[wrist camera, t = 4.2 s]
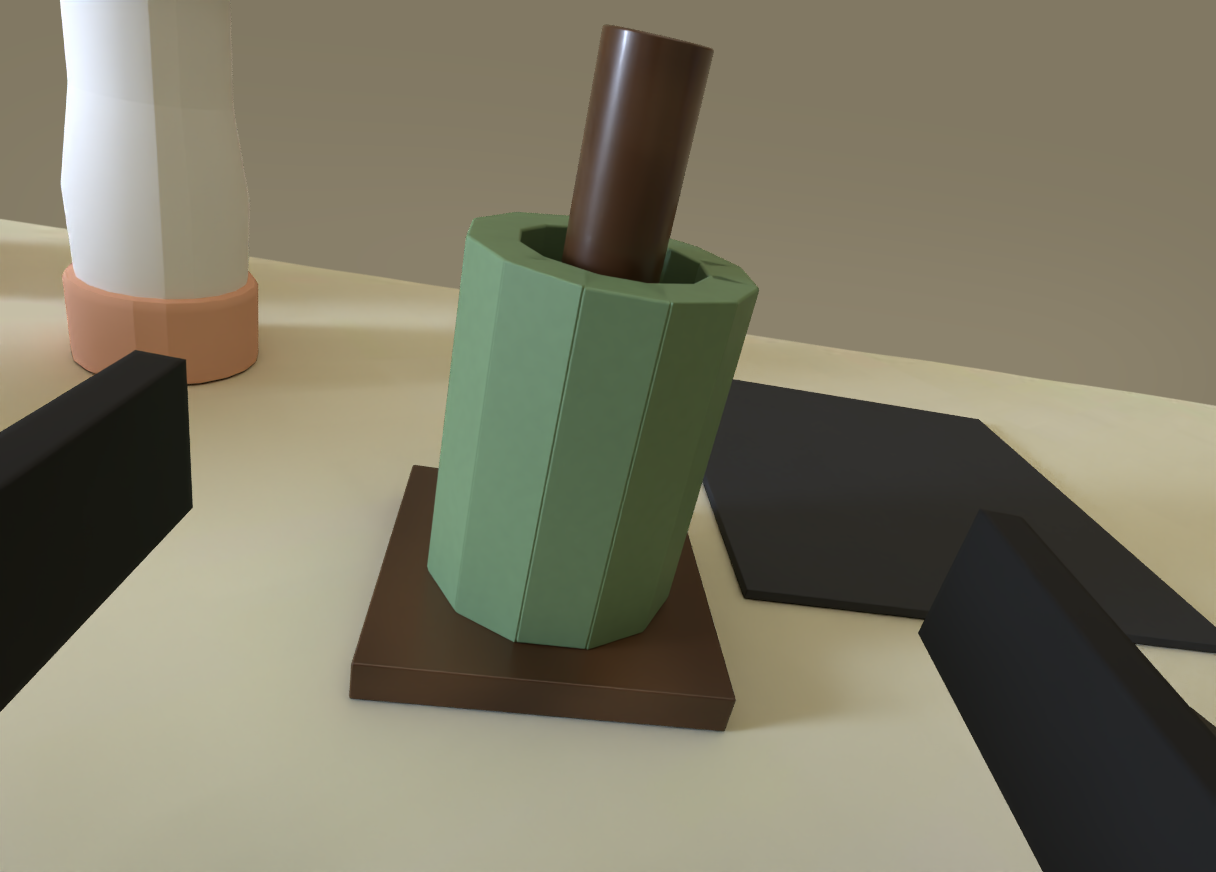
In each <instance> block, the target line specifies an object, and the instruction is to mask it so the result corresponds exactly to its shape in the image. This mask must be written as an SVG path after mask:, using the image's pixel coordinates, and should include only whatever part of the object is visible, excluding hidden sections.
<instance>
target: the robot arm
mask: <svg viewBox="0 0 1216 872" xmlns="http://www.w3.org/2000/svg"><path fill="white" fill-rule="evenodd" d="M192 508H193V504H192V481H191V459H190V436H189V413H188V391H187V368H186V359H181V358H176V357H170V356H165V355H160V354H155V353H149V352H144V351H139V350H134V351H133V352H131V353H130V354H128V355H126V356H125V357H123V358H121V359H120V360H118V361H116V362H115V363H113V364H112V365H110V366H108V367H107V368H105V369H103V370H102V371H100V372H98V373H97V374H95V375H93V376H92V377H90V378H89V379H87V380H85V381H84V382H82V383H80V384H79V385H77V386H75V387H74V388H72V389H70V390H69V391H67V392H66V393H64V394H62V395H61V396H59V397H57V398H56V399H54V400H52V401H51V402H49V403H47V404H46V405H44V406H43V407H41V408H39V409H38V410H36V411H34V412H33V413H31V414H29V415H28V416H26V417H24V418H23V419H21V420H20V421H18V422H16V423H15V424H13V425H11V426H10V427H8V428H6V429H5V430H3V431H1V432H0V712H1V711H2V710H3V709H4V708H5V706H6V705H7V704H8V703H9V702H10V701H11V700H12V699H13V698H14V697H15V696H16V695H17V694H18V693H19V692H20V690H21V689H22V688H23V687H24V686H25V685H26V684H27V683H28V682H29V681H30V680H31V679H32V678H33V677H34V676H35V675H36V673H37V672H38V671H39V670H40V669H41V668H42V667H43V666H44V665H45V664H46V663H47V662H48V661H49V660H50V659H51V658H52V656H53V655H54V654H55V653H56V652H57V651H58V650H59V649H60V648H61V647H62V646H63V645H64V644H65V643H66V642H67V641H68V639H69V638H70V637H71V636H72V635H73V634H74V633H75V632H76V631H77V630H78V629H79V628H80V627H81V626H82V625H83V624H84V622H85V621H86V620H87V619H88V618H89V617H90V616H91V615H92V614H93V613H94V612H95V611H96V610H97V609H98V608H99V607H100V605H101V604H102V603H103V602H104V601H105V600H106V599H107V598H108V597H109V596H110V595H111V594H112V593H113V592H114V591H115V590H116V588H117V587H118V586H119V585H120V584H121V583H122V582H123V581H124V580H125V579H126V578H127V577H128V576H129V575H130V574H131V573H132V571H133V570H134V569H135V568H136V567H137V566H138V565H139V564H140V563H141V562H142V561H143V560H144V559H145V558H146V557H147V556H148V554H149V553H150V552H151V551H152V550H153V549H154V548H155V547H156V546H157V545H158V544H159V543H160V542H161V541H162V540H163V539H164V537H165V536H166V535H167V534H168V533H169V532H170V531H171V530H172V529H173V528H174V527H175V526H176V525H177V524H178V523H179V522H180V520H181V519H182V518H183V517H184V516H185V515H186V514H187V513H188V512H189V511H190V510H191V509H192ZM918 634H919V636H920V638H921V639H922V641H923V643H924V645H925V647H926V649H927V651H928V653H929V655H930V657H931V659H932V661H933V662H934V664H935V666H936V668H937V670H938V672H939V674H940V676H941V678H942V680H943V682H944V683H945V685H946V687H947V689H948V691H949V693H950V695H951V697H952V699H953V701H954V703H955V705H956V706H957V708H958V710H959V712H960V714H961V716H962V718H963V720H964V722H965V724H966V726H967V727H968V729H969V731H970V733H971V735H972V737H973V739H974V741H975V743H976V745H977V747H978V749H979V750H980V752H981V754H982V756H983V758H984V760H985V762H986V764H987V766H988V768H989V770H990V771H991V773H992V775H993V777H994V779H995V781H996V783H997V785H998V787H999V789H1000V791H1001V793H1002V794H1003V796H1004V798H1005V800H1006V802H1007V804H1008V806H1009V808H1010V810H1011V812H1012V814H1013V815H1014V817H1015V819H1016V821H1017V823H1018V825H1019V827H1020V829H1021V831H1022V833H1023V835H1024V837H1025V838H1026V840H1027V842H1028V844H1029V846H1030V848H1031V850H1032V852H1033V854H1034V856H1035V858H1036V859H1037V861H1038V863H1039V865H1040V867H1041V869H1042V871H1043V872H1216V727H1215V726H1214V725H1213V724H1211V723H1210V722H1209V721H1207V720H1206V719H1205V718H1204V717H1202V716H1201V715H1200V714H1199V713H1197V712H1196V711H1195V710H1194V709H1192V708H1191V707H1189V706H1188V704H1187V703H1186V702H1185V701H1184V700H1183V699H1182V698H1181V696H1180V695H1179V694H1178V693H1177V692H1176V691H1175V690H1174V688H1173V687H1172V686H1171V685H1170V684H1169V683H1168V682H1167V681H1166V679H1165V678H1164V677H1163V676H1162V675H1161V674H1160V673H1159V671H1158V670H1157V669H1156V668H1155V667H1154V666H1153V665H1152V664H1151V662H1150V661H1149V660H1148V659H1147V658H1146V657H1145V656H1144V654H1143V653H1142V652H1141V651H1140V650H1139V649H1138V648H1137V647H1136V645H1135V644H1134V643H1133V642H1132V641H1131V640H1130V639H1129V637H1128V636H1127V635H1126V634H1125V633H1124V632H1123V631H1122V629H1121V628H1120V627H1119V626H1118V625H1117V624H1116V623H1115V622H1114V620H1113V619H1112V618H1111V617H1110V616H1109V615H1108V614H1107V612H1106V611H1105V610H1104V609H1103V608H1102V607H1101V606H1100V605H1099V603H1098V602H1097V601H1096V600H1095V599H1094V598H1093V597H1092V595H1091V594H1090V593H1089V592H1088V591H1087V590H1086V589H1085V587H1084V586H1083V585H1082V584H1081V583H1080V582H1079V581H1078V580H1077V578H1076V577H1075V576H1074V575H1073V574H1072V573H1071V572H1070V570H1069V569H1068V568H1067V567H1066V566H1065V565H1064V564H1063V563H1062V561H1061V560H1060V559H1059V558H1058V557H1057V556H1056V555H1055V553H1054V552H1053V551H1052V550H1051V549H1050V548H1049V547H1048V545H1047V544H1046V543H1045V542H1044V541H1043V540H1042V539H1041V538H1040V536H1039V535H1038V534H1037V533H1036V532H1035V531H1034V530H1033V528H1032V527H1031V526H1030V525H1029V524H1028V523H1027V522H1026V521H1025V519H1024V518H1023V517H1021V516H1016V515H1011V514H1005V513H1000V512H995V511H989V510H984V509H979V511H978V513H977V515H976V517H975V519H974V521H973V523H972V525H971V527H970V529H969V531H968V533H967V535H966V537H965V540H964V542H963V544H962V546H961V548H960V550H959V552H958V554H957V556H956V558H955V560H954V562H953V564H952V566H951V568H950V570H949V572H948V574H947V576H946V578H945V580H944V582H943V584H942V586H941V588H940V590H939V592H938V594H937V596H936V598H935V600H934V602H933V604H932V606H931V608H930V610H929V612H928V614H927V616H926V618H925V620H924V622H923V624H922V626H921V628H920V630H919V632H918Z"/></svg>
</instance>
